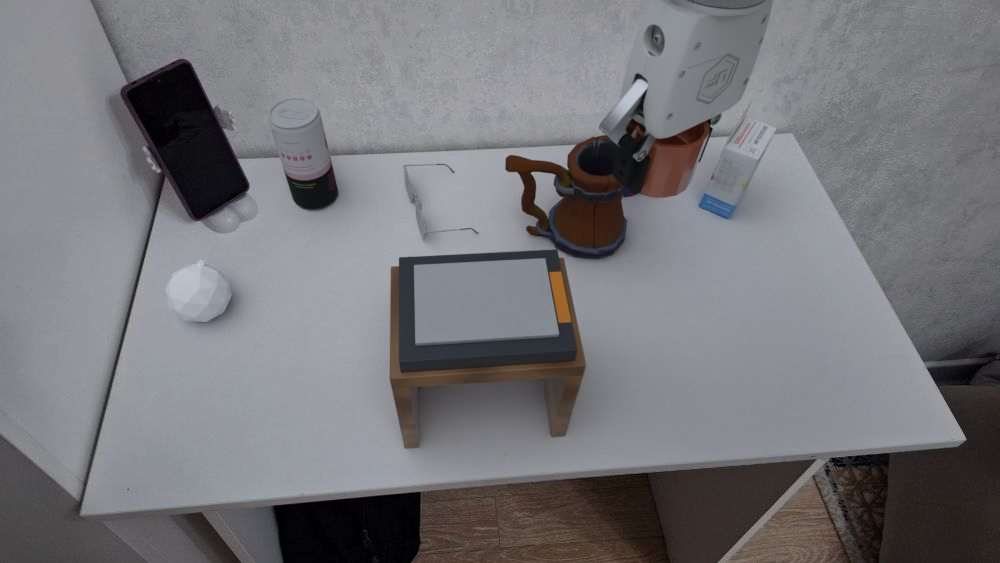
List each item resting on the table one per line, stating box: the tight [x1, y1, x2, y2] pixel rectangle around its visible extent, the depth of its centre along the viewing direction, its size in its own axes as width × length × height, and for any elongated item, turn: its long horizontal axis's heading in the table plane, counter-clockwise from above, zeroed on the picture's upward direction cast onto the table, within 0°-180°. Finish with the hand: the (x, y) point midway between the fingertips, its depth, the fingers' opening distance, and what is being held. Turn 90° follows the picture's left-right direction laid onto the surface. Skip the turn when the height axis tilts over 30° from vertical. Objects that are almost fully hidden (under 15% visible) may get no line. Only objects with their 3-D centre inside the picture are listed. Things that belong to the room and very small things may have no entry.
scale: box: [398, 248, 578, 373], centre depth 59 cm, size 16×12×2 cm
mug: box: [504, 134, 628, 259], centre depth 83 cm, size 18×12×15 cm, turn 95°
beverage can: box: [267, 96, 339, 211], centre depth 85 cm, size 6×7×15 cm
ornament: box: [164, 259, 233, 323], centre depth 75 cm, size 7×7×8 cm
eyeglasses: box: [402, 163, 479, 240], centre depth 89 cm, size 14×8×4 cm, turn 18°
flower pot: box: [631, 111, 709, 199], centre depth 54 cm, size 6×6×6 cm
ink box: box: [698, 98, 777, 220], centre depth 88 cm, size 8×5×15 cm, turn 147°
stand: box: [389, 257, 587, 449], centre depth 66 cm, size 18×13×16 cm
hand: (656, 168), depth 55 cm, fingers closed on flower pot, 6 cm apart
